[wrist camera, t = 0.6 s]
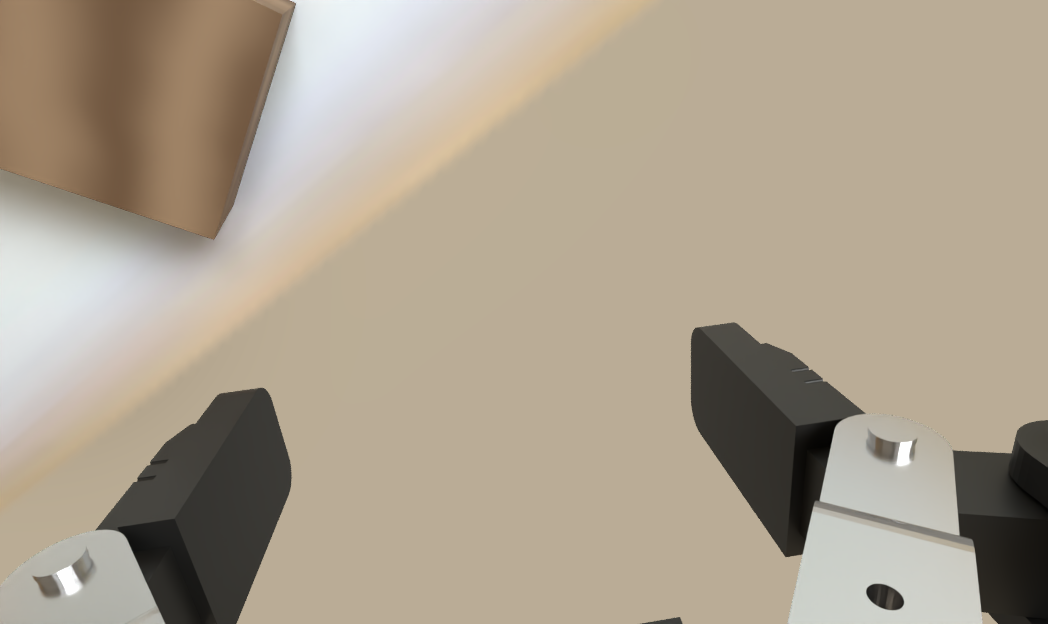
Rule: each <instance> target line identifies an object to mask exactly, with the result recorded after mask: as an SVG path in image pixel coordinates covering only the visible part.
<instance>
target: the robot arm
mask: <svg viewBox="0 0 1048 624" xmlns="http://www.w3.org/2000/svg"><path fill="white" fill-rule="evenodd" d="M691 406H692V412H693V416H694V420H695V423H696V426H697V428H698V430H699V432H700V434H701V435H702V437H703V438H704V440H705V441H706V442H707V444H708V445H709V446H710V448H711V450H712V451H713V453H714V454H715V455H716V457H717V458H718V460H719V461H720V463H721V464H722V466H723V467H724V468H725V470H726V471H727V473H728V474H729V476H730V477H731V479H732V480H733V482H734V483H735V484H736V486H737V487H738V489H739V490H740V492H741V493H742V495H743V496H744V497H745V499H746V500H747V502H748V503H749V505H750V506H751V508H752V509H753V511H754V512H755V513H756V515H757V516H758V518H759V519H760V521H761V522H762V523H763V525H764V526H765V528H766V529H767V531H768V532H769V534H770V535H771V537H772V538H773V539H774V541H775V542H776V544H777V545H778V547H779V548H780V550H781V551H782V552H783V554H784V555H785V557H790V556H796V555H801V554H803V556H802V560H801V565H800V570H799V574H798V578H797V583H796V587H795V592H794V596H793V601H792V605H791V610H790V614H789V619H788V623H787V624H983V622H982V613H981V612H986V613H989V614H990V615H991V617H992V618H993V619H994V620H995V621H996V622H997V623H998V624H1048V420H1045V421H1036V422H1031V423H1028V424H1025V425H1023V426H1022V427H1020V428H1019V430H1018V431H1017V434H1016V438H1015V442H1014V446H1013V451H1012V454H1009V453H988V452H969V451H953V450H952V448H951V446H950V444H949V442H948V441H947V440H946V439H945V438H944V437H943V436H941V435H940V434H939V433H938V432H936V431H934V430H933V429H931V428H929V427H927V426H925V425H923V424H921V423H918V422H915V421H913V420H909V419H906V418H902V417H898V416H893V415H886V414H866V413H864V412H863V411H862V410H861V409H859V408H858V407H857V406H856V405H854V404H853V403H852V402H851V401H850V400H848V399H847V398H846V397H845V396H843V395H842V394H841V393H840V392H839V391H837V390H836V389H835V388H834V387H832V386H831V385H830V384H829V383H827V382H823V379H822V378H821V377H820V376H819V375H818V374H816V373H815V372H814V371H813V370H809V368H808V366H806V365H805V364H804V363H803V362H802V361H800V360H799V359H798V358H797V357H795V356H794V355H793V354H792V353H790V352H787V351H785V350H782V349H779V348H777V347H775V346H772V345H770V344H767V343H765V344H760V343H759V342H758V341H756V340H755V339H754V338H753V337H752V336H751V335H750V334H748V333H747V332H746V331H745V330H744V329H743V328H741V327H740V326H739V325H738V324H736V323H727V324H720V325H713V326H705V327H699V328H695V329H694V330H693V333H692V338H691ZM150 463H151V465H149V466H147V467H146V468H145V469H144V470H143V472H142V473H141V474H140V475H139V477H138V481H137V482H134V483H133V484H132V485H131V487H130V488H129V489H128V491H126V493H125V494H124V495H123V497H122V498H121V499H120V500H119V502H118V503H117V504H116V505H115V506H114V508H113V509H112V510H111V512H110V513H109V514H108V515H107V516H106V518H105V519H104V520H103V522H102V523H101V524H100V525H99V526H98V528H97V529H96V530H95V531H91V532H86V533H83V534H78V535H75V536H73V537H70V538H67V539H65V540H62V541H60V542H58V543H56V544H54V545H52V546H50V547H48V548H46V549H44V550H42V551H41V552H39V553H37V554H36V555H34V556H33V557H31V558H30V559H28V560H27V561H25V562H24V563H23V564H22V565H20V566H19V567H18V568H17V569H16V570H15V571H13V572H12V573H11V574H10V575H9V576H8V577H7V579H6V580H5V581H4V582H3V583H2V585H1V586H0V624H236V623H237V621H238V618H239V616H240V613H241V611H242V608H243V606H244V604H245V601H246V599H247V596H248V594H249V591H250V589H251V586H252V584H253V581H254V579H255V576H256V574H257V571H258V569H259V566H260V564H261V561H262V559H263V557H264V554H265V552H266V549H267V547H268V544H269V542H270V539H271V537H272V534H273V532H274V529H275V527H276V524H277V522H278V520H279V517H280V515H281V512H282V510H283V507H284V505H285V502H286V500H287V497H288V495H289V492H290V487H291V465H290V460H289V456H288V452H287V449H286V446H285V443H284V439H283V436H282V433H281V429H280V426H279V422H278V419H277V416H276V413H275V409H274V406H273V402H272V400H271V397H270V395H269V393H268V392H267V391H266V389H264V388H258V389H250V390H242V391H235V392H228V393H221V394H219V395H217V397H216V398H215V399H214V400H213V402H212V403H211V404H210V406H209V407H208V408H207V410H206V411H205V412H204V413H203V415H202V416H201V417H200V419H199V420H198V421H197V423H196V424H191V425H189V426H188V427H187V428H185V429H184V430H182V431H181V432H180V433H178V434H177V435H176V436H174V437H173V438H171V439H170V440H169V441H167V442H166V443H165V444H164V445H163V447H162V448H161V449H160V450H159V452H158V453H157V454H156V455H155V457H154V458H153V459H152V460H151V462H150ZM642 624H682V621H681V619H680V617H678V618H672V619H666V620H660V621H654V622H648V623H642Z"/></svg>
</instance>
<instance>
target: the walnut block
mask: <svg viewBox="0 0 1048 624" xmlns="http://www.w3.org/2000/svg"><path fill="white" fill-rule="evenodd" d="M295 5H296V3H294V2H292V1H290V0H0V169H3V170H6V171H9V172H12V173H15V174H18V175H21V176H24V177H27V178H30V179H33V180H36V181H39V182H42V183H45V184H48V185H51V186H54V187H57V188H60V189H63V190H66V191H69V192H72V193H75V194H78V195H81V196H84V197H87V198H90V199H93V200H96V201H99V202H102V203H105V204H108V205H111V206H114V207H117V208H120V209H123V210H126V211H129V212H132V213H135V214H138V215H141V216H144V217H147V218H150V219H153V220H156V221H159V222H162V223H165V224H168V225H171V226H174V227H177V228H180V229H183V230H186V231H189V232H192V233H195V234H198V235H201V236H204V237H207V238H211V239H215V237H216V235H217V233H218V232H219V230H220V228H221V226H222V224H223V223H224V221H225V219H226V217H227V216H228V214H229V212H230V210H231V208H232V207H233V204H234V201H235V198H236V195H237V192H238V188H239V185H240V182H241V179H242V175H243V172H244V169H245V166H246V163H247V159H248V156H249V153H250V150H251V146H252V143H253V140H254V137H255V134H256V130H257V127H258V124H259V121H260V117H261V114H262V111H263V108H264V105H265V101H266V98H267V95H268V92H269V89H270V85H271V82H272V79H273V76H274V72H275V69H276V66H277V63H278V60H279V56H280V53H281V50H282V47H283V43H284V40H285V37H286V34H287V31H288V27H289V24H290V21H291V18H292V14H293V11H294V8H295Z"/></svg>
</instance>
